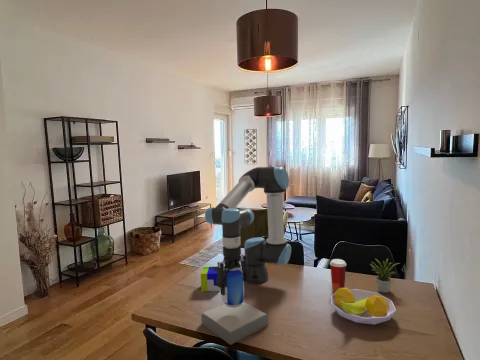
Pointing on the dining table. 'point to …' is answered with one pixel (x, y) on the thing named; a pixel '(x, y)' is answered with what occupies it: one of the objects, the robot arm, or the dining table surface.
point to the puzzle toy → (209, 279)
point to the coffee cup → (338, 273)
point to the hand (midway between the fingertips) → (233, 298)
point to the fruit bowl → (362, 306)
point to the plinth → (234, 321)
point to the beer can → (234, 287)
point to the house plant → (383, 276)
